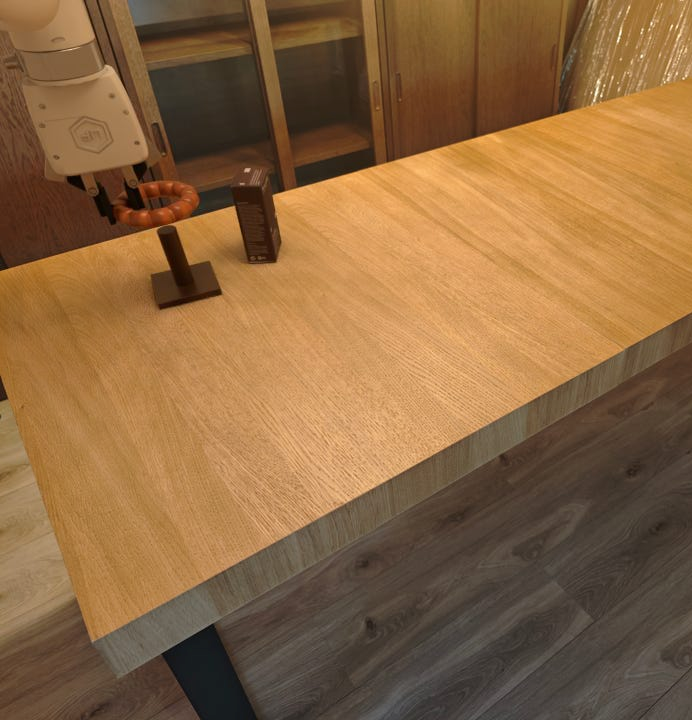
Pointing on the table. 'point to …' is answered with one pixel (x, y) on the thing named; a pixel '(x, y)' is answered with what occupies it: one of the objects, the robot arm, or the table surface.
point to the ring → (157, 216)
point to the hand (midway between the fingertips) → (125, 216)
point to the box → (256, 214)
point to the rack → (181, 274)
